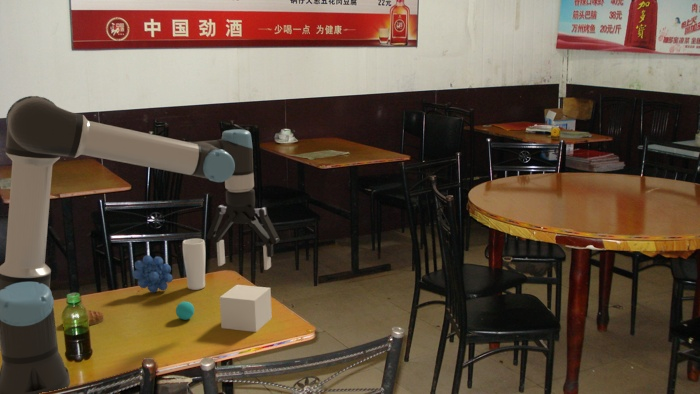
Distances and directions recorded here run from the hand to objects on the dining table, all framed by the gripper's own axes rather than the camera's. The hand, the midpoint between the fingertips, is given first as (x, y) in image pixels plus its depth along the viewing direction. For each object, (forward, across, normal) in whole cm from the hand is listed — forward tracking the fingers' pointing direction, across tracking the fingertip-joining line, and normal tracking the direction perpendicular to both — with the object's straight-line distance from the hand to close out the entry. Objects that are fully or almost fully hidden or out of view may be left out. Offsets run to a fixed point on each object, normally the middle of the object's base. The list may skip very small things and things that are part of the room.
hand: (244, 266), depth 202 cm
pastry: (+16, +44, +12) cm, 49 cm away
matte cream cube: (+16, 0, 0) cm, 16 cm away
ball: (+14, +18, +2) cm, 23 cm away
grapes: (+16, +38, -14) cm, 43 cm away
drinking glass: (+16, +28, -22) cm, 39 cm away
